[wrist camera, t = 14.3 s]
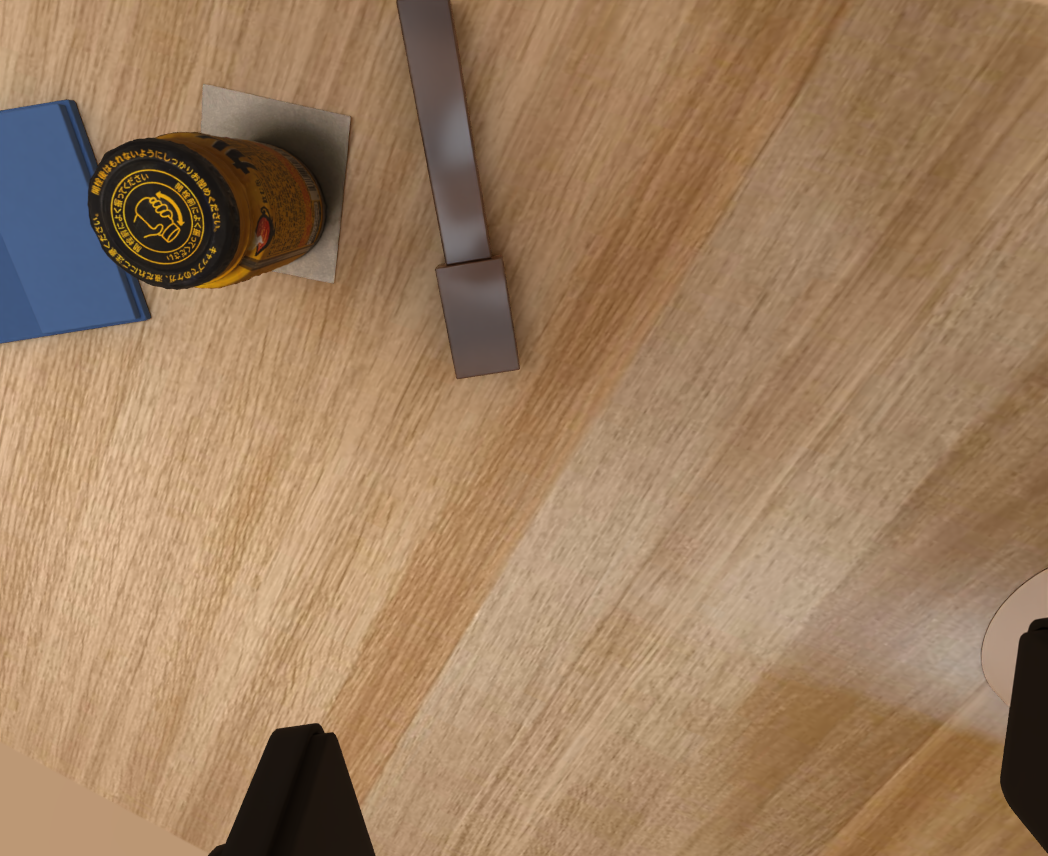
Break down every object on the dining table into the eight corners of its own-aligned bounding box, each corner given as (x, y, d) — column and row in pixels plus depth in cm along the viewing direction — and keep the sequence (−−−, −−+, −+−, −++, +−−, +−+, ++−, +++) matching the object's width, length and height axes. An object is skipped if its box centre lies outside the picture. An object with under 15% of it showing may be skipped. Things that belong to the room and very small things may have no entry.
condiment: (198, 256, 36) (59, 291, 24) (204, 83, 33) (50, 34, 22) (334, 283, 36) (261, 329, 25) (352, 116, 34) (277, 85, 22)
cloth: (-139, 136, 33) (-162, 134, 32) (75, 100, 33) (60, 97, 32) (-41, 348, 37) (-58, 354, 36) (151, 318, 37) (140, 322, 36)
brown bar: (390, 11, 32) (382, -2, 30) (462, -1, 32) (459, -15, 30) (459, 367, 38) (456, 379, 36) (518, 358, 38) (520, 369, 36)
